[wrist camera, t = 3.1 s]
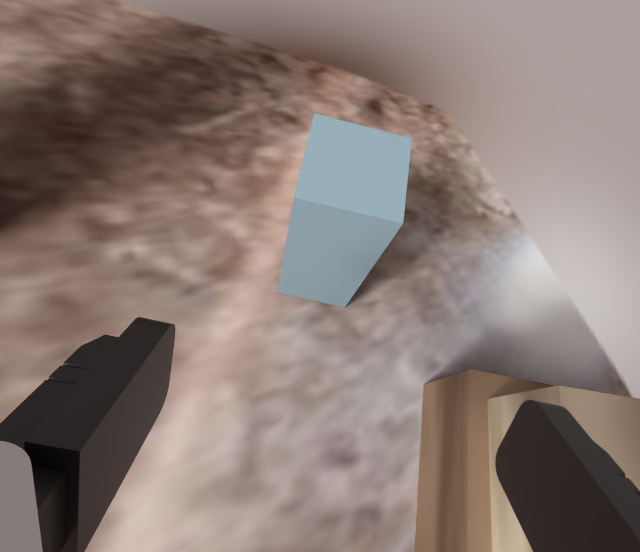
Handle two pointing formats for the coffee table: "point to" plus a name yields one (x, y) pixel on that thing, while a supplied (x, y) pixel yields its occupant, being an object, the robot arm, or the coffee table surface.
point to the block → (343, 209)
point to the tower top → (594, 417)
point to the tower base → (458, 461)
